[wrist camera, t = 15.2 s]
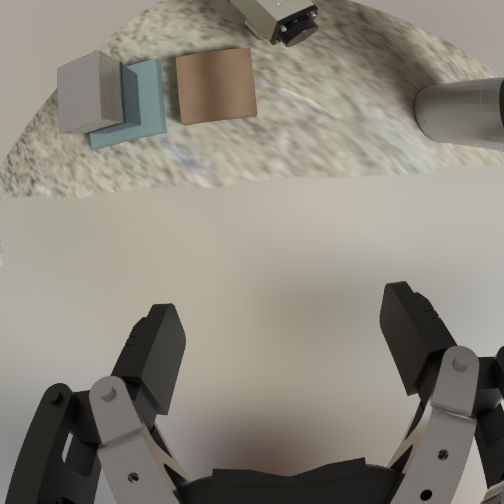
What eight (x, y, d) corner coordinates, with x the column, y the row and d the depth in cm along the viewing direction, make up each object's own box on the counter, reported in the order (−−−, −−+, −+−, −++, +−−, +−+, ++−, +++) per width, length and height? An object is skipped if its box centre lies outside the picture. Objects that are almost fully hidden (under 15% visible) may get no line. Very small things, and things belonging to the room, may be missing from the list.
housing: (138, 73, 27) (100, 48, 16) (142, 125, 29) (102, 119, 19) (103, 83, 26) (56, 67, 16) (107, 134, 29) (59, 135, 19)
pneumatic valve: (275, 65, 29) (293, 31, 18) (221, 8, 26) (216, -38, 15) (308, 46, 28) (337, 11, 17) (254, -9, 25) (262, -56, 14)
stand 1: (160, 63, 28) (155, 58, 26) (166, 132, 32) (161, 131, 30) (94, 83, 28) (86, 80, 26) (100, 148, 32) (91, 149, 30)
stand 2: (249, 53, 29) (249, 47, 26) (255, 116, 32) (257, 114, 30) (179, 62, 29) (175, 57, 26) (185, 125, 32) (181, 124, 30)
